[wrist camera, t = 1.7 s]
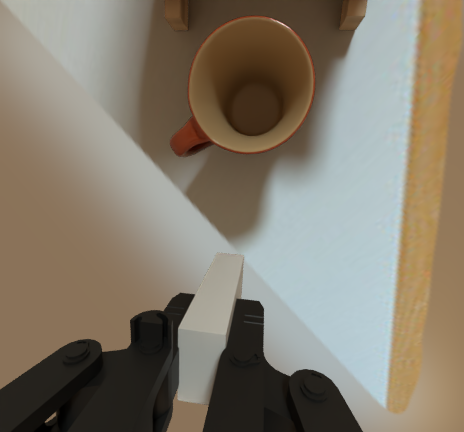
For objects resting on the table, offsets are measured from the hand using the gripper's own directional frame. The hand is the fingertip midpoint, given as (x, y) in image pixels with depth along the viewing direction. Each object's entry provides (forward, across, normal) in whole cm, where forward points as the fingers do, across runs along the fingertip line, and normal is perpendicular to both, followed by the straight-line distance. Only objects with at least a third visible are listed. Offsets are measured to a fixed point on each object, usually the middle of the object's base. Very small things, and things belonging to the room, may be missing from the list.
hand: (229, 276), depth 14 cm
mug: (+16, -1, +10) cm, 19 cm away
